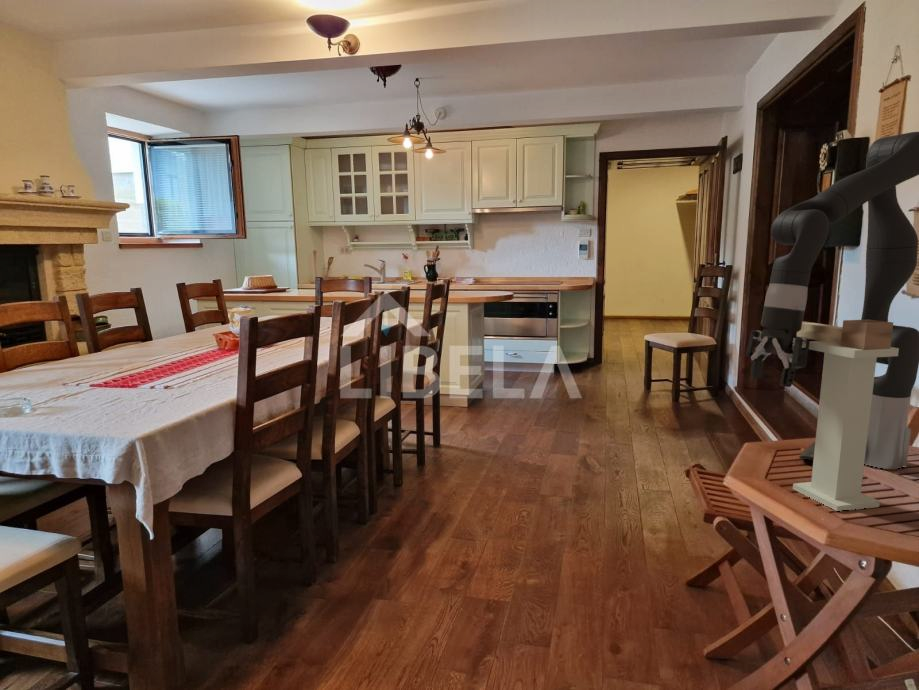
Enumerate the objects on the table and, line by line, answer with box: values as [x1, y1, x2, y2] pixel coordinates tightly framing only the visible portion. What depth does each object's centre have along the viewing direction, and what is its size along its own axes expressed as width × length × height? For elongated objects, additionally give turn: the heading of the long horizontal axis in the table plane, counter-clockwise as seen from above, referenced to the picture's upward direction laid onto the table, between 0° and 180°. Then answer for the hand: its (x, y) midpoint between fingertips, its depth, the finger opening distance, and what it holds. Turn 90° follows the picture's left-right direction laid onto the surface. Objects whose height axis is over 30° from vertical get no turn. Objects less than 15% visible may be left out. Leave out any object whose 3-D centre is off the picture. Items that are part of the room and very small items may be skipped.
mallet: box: [797, 319, 894, 350], centre depth 113 cm, size 19×6×5 cm, turn 12°
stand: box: [792, 340, 899, 512], centre depth 112 cm, size 11×10×32 cm
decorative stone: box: [798, 441, 815, 461], centre depth 137 cm, size 17×6×4 cm, turn 129°
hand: (769, 382), depth 119 cm, fingers open, 8 cm apart
